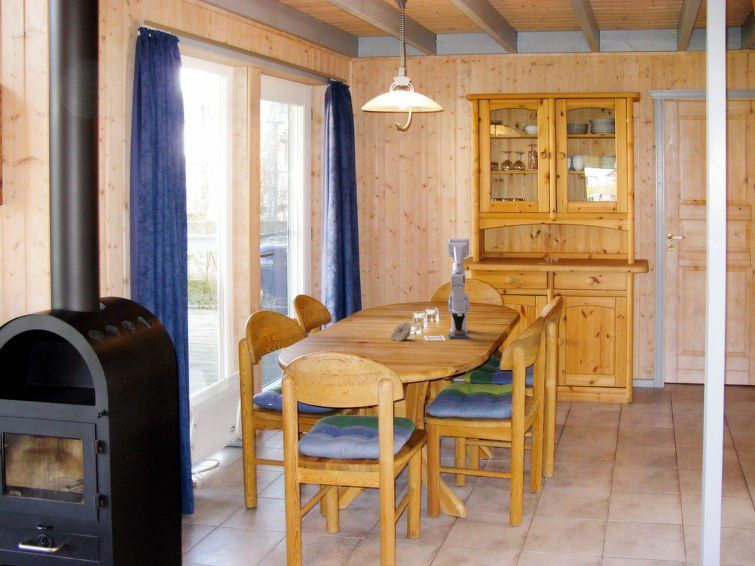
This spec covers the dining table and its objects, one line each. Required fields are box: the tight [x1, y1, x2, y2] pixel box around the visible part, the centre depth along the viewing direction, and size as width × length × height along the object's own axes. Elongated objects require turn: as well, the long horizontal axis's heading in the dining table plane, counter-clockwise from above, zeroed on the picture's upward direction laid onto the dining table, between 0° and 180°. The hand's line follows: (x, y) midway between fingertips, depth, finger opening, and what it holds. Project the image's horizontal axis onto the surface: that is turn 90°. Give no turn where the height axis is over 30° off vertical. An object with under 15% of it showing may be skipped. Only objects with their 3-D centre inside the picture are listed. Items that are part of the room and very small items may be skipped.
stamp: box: [453, 329, 466, 335], centre depth 428 cm, size 4×4×6 cm
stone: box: [390, 321, 412, 342], centre depth 424 cm, size 10×7×10 cm
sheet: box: [423, 334, 447, 342], centre depth 426 cm, size 14×9×1 cm, turn 1°
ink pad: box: [447, 332, 470, 340], centre depth 428 cm, size 9×9×1 cm
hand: (458, 329), depth 428 cm, fingers closed on stamp, 3 cm apart
